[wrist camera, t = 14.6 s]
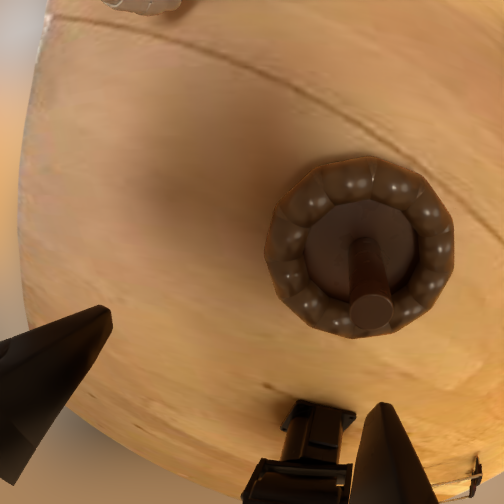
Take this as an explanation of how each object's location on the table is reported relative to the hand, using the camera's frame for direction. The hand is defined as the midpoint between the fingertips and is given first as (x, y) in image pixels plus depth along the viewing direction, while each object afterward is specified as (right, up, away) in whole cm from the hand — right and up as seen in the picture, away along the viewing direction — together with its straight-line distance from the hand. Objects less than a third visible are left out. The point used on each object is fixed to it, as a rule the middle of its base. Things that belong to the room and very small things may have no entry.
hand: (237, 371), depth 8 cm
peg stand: (+7, +4, +10) cm, 13 cm away
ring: (+7, +3, +8) cm, 11 cm away
